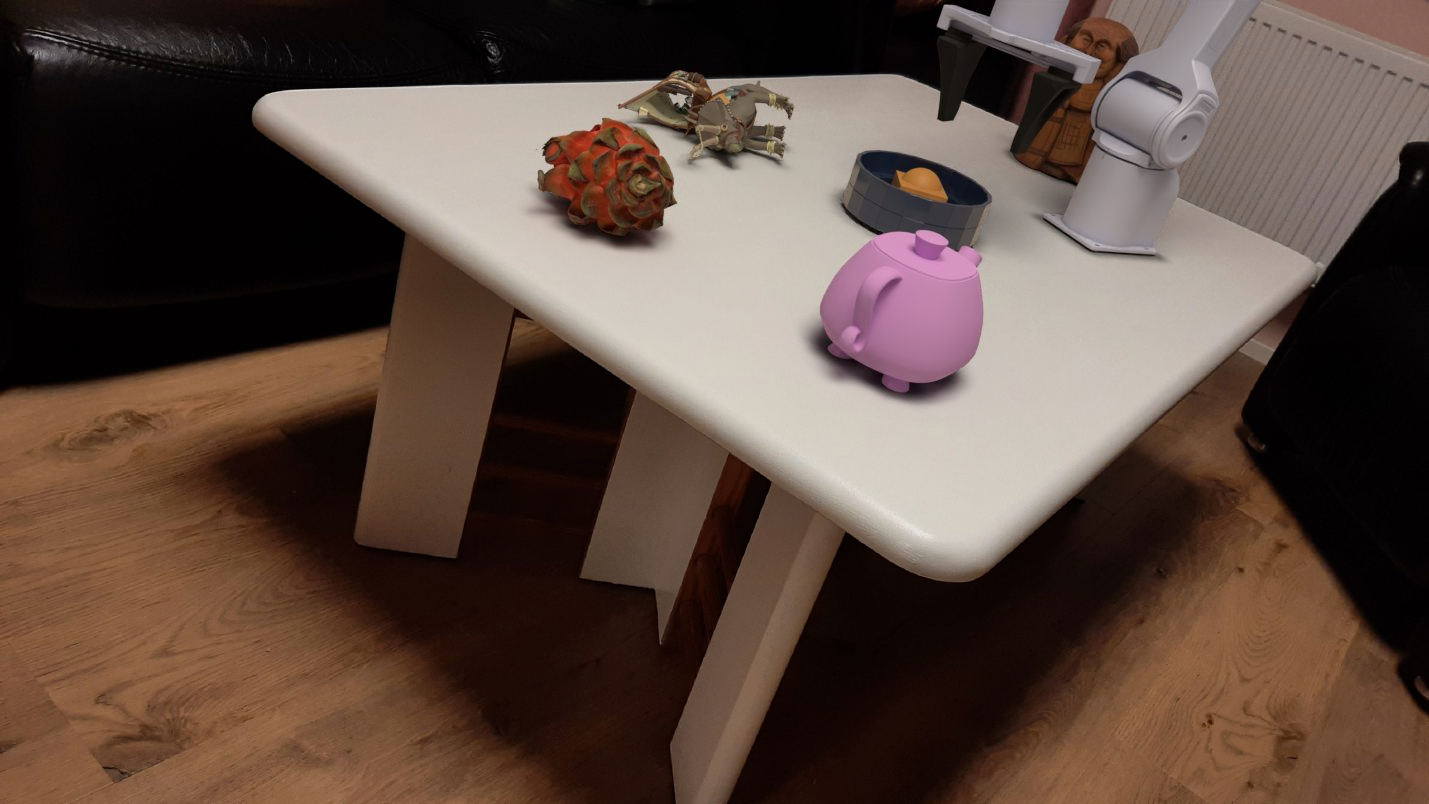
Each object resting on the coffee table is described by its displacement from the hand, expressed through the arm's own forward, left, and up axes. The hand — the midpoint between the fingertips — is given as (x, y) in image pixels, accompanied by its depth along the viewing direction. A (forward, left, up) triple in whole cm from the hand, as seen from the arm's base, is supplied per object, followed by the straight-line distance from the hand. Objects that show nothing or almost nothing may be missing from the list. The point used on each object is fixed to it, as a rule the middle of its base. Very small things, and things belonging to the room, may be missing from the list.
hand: (980, 135), depth 93 cm
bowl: (+3, -1, -9) cm, 10 cm away
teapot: (+20, +23, -10) cm, 32 cm away
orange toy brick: (+4, -1, -9) cm, 9 cm away
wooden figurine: (-32, -21, -10) cm, 39 cm away
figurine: (+17, -19, -10) cm, 28 cm away
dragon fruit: (+36, +3, -10) cm, 37 cm away
